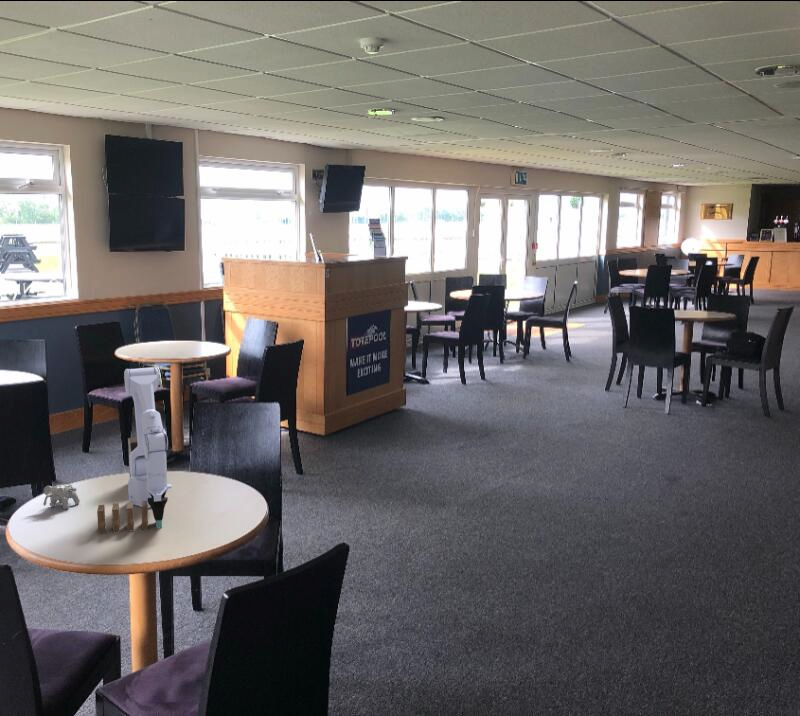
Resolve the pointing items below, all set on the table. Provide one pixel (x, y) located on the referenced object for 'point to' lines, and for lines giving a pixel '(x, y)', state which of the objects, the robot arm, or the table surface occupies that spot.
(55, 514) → the table surface
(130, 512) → the domino
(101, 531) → the domino
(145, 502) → the domino
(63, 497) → the gray elephant figurine
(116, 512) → the domino
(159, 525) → the teal domino
